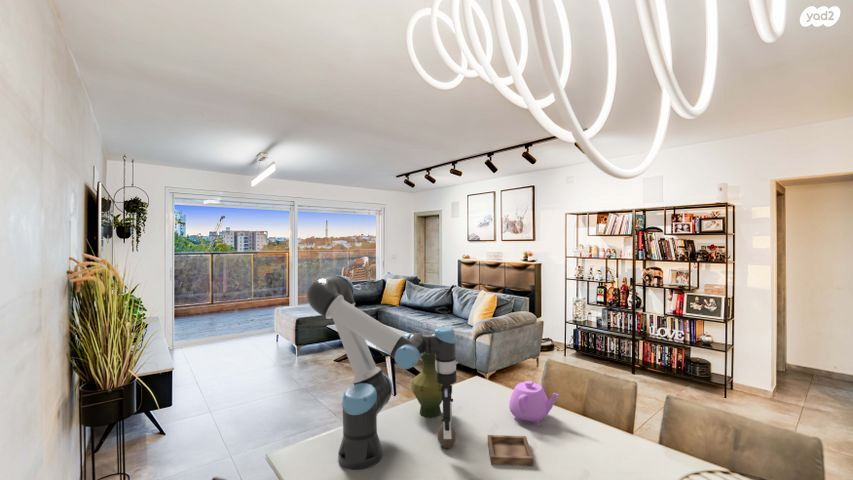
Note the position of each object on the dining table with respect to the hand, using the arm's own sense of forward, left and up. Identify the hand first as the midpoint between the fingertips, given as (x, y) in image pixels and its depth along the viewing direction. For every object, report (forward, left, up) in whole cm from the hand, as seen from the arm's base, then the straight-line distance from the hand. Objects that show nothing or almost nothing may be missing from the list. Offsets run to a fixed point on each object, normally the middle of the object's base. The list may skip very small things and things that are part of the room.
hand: (448, 428), depth 138 cm
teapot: (+35, +21, -6) cm, 41 cm away
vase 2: (0, 0, -6) cm, 6 cm away
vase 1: (-8, +25, -6) cm, 27 cm away
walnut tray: (+22, -4, -6) cm, 23 cm away
